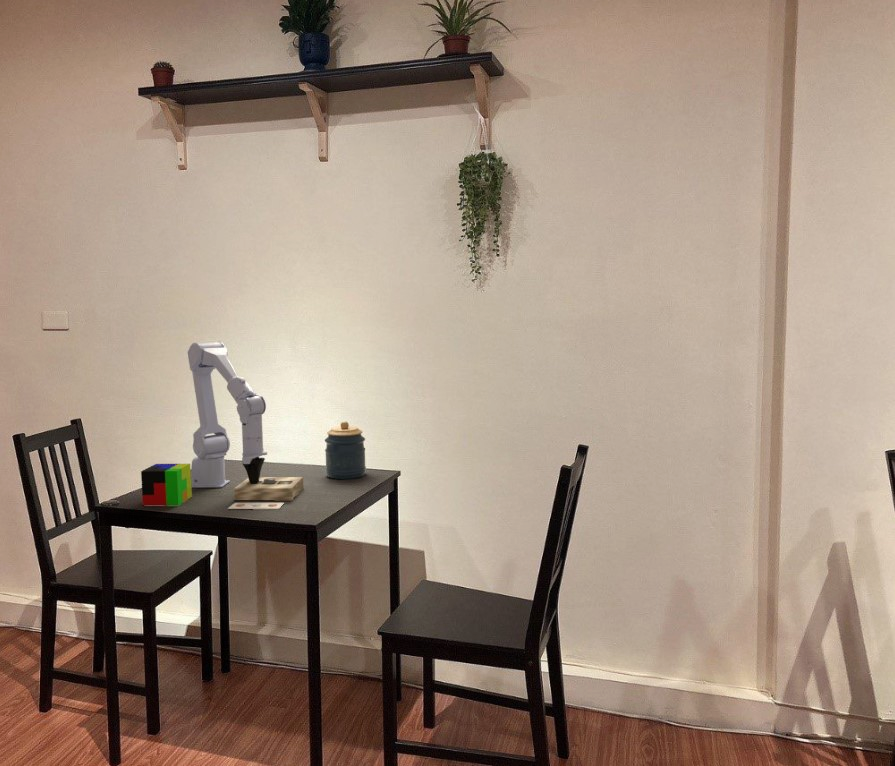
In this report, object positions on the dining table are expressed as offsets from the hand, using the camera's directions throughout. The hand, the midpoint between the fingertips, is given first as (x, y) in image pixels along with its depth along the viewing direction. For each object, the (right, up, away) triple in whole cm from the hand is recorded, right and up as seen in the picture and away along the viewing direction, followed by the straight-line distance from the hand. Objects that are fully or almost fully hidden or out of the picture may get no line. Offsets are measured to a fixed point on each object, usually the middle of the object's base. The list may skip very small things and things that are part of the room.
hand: (254, 483), depth 221 cm
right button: (+9, -2, 0) cm, 9 cm away
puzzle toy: (-23, -5, -7) cm, 24 cm away
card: (+4, -5, -13) cm, 15 cm away
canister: (+23, -1, +24) cm, 34 cm away
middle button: (+5, -1, 0) cm, 5 cm away
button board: (+5, -3, 0) cm, 6 cm away
